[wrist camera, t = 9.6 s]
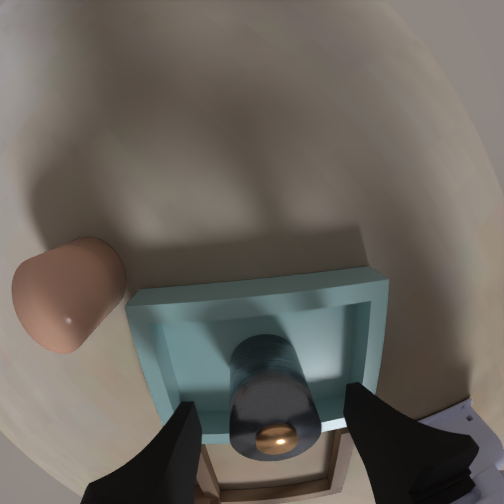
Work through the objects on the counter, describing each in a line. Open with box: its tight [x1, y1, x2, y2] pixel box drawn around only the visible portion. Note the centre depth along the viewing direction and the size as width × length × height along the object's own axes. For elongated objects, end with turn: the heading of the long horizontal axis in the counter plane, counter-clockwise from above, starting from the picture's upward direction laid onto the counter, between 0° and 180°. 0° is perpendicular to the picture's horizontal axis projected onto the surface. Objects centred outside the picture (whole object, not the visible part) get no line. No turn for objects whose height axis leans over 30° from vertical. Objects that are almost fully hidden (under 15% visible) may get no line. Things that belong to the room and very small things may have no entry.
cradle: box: [196, 427, 354, 504], centre depth 19 cm, size 12×10×2 cm
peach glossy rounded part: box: [12, 237, 126, 354], centre depth 13 cm, size 5×5×5 cm
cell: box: [229, 334, 322, 461], centre depth 13 cm, size 4×4×6 cm
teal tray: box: [125, 266, 389, 444], centre depth 15 cm, size 13×10×2 cm
